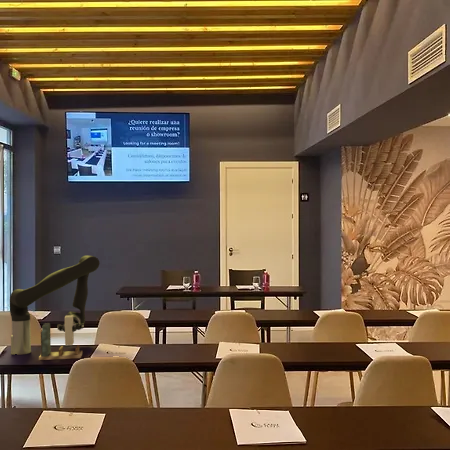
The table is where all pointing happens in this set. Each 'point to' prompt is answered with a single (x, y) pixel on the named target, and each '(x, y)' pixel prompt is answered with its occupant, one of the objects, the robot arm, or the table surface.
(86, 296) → the robot arm
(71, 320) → the cream book
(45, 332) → the book rack
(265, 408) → the table surface
